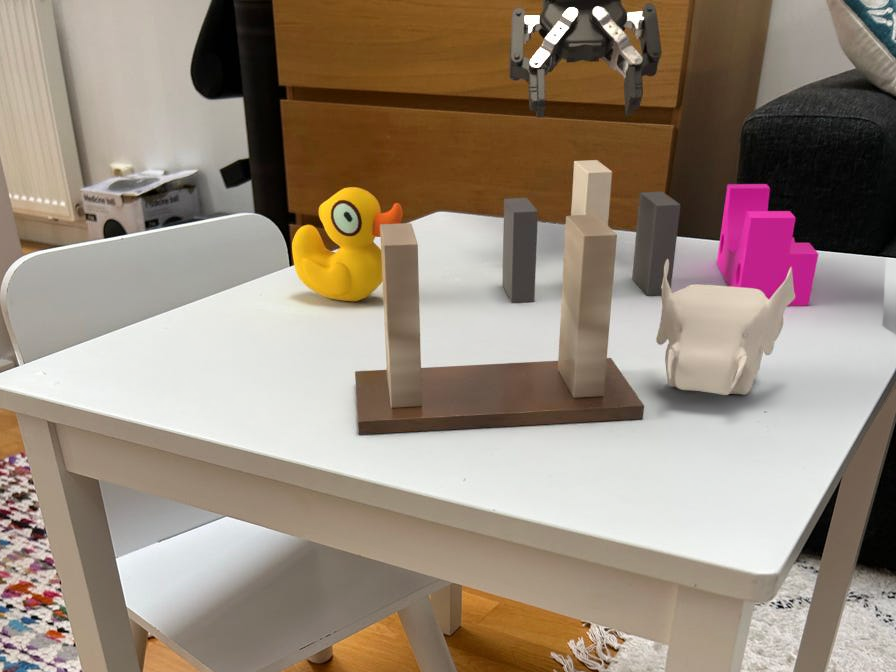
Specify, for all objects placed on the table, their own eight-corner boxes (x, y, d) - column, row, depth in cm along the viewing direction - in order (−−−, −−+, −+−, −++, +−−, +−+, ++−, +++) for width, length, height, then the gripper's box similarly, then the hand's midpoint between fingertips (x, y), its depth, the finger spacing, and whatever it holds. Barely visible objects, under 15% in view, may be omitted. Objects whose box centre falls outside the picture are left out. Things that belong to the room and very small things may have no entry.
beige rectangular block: (589, 281, 99) (597, 159, 92) (602, 298, 94) (612, 171, 87) (567, 282, 99) (574, 160, 92) (579, 299, 94) (587, 172, 87)
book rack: (610, 370, 78) (623, 206, 71) (643, 419, 70) (662, 239, 63) (355, 383, 77) (344, 219, 70) (358, 434, 69) (346, 254, 62)
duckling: (416, 296, 96) (413, 184, 90) (393, 312, 92) (388, 196, 86) (312, 287, 100) (302, 179, 94) (286, 302, 96) (274, 190, 90)
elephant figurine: (627, 411, 71) (640, 283, 66) (658, 357, 80) (672, 241, 75) (766, 427, 68) (790, 295, 63) (782, 369, 77) (805, 249, 72)
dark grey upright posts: (653, 277, 99) (662, 191, 94) (670, 294, 94) (680, 204, 89) (502, 285, 98) (504, 198, 94) (511, 302, 93) (513, 212, 89)
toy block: (808, 305, 90) (825, 217, 86) (737, 305, 91) (751, 217, 86) (778, 262, 102) (792, 183, 98) (716, 262, 103) (727, 184, 99)
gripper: (509, -68, 94) (513, 84, 91) (661, -73, 93) (670, 79, 90) (505, -3, 101) (508, 139, 98) (645, -8, 101) (653, 135, 98)
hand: (586, 110), depth 94 cm, fingers open, 8 cm apart
